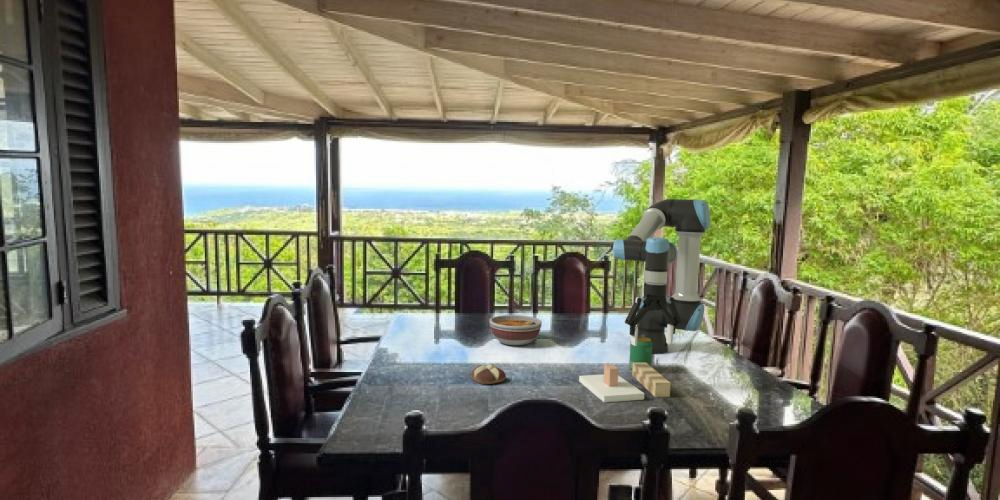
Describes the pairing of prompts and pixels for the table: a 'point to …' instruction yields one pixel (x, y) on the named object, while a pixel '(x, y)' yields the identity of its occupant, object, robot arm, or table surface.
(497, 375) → the bread
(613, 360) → the table surface
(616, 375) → the fulcrum
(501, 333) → the bowl
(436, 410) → the table surface
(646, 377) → the oak bar
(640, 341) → the beverage can
